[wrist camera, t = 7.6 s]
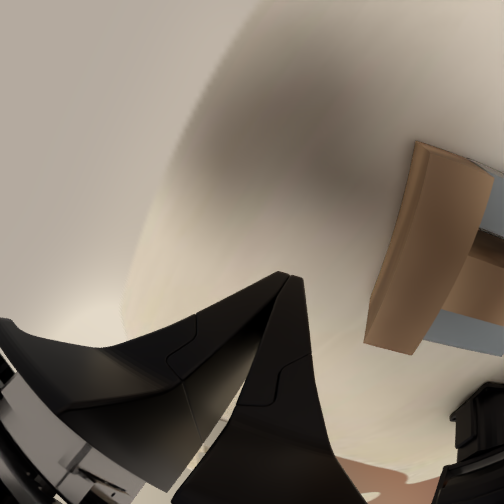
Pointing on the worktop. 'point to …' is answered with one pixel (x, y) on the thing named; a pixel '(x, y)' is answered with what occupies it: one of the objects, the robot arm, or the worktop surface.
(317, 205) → the worktop surface
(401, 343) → the t block
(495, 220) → the t dock
